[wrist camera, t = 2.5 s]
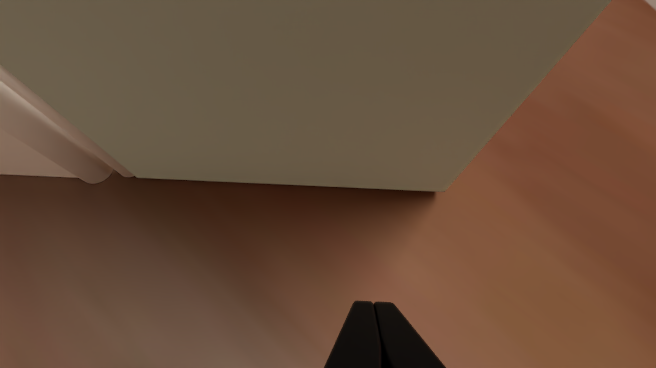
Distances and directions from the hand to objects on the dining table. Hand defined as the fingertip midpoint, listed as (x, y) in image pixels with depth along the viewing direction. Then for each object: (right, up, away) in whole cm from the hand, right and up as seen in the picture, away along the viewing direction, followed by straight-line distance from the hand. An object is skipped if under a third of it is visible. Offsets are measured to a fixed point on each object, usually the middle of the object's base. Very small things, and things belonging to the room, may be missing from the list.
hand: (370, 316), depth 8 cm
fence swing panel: (-3, +3, +11) cm, 12 cm away
